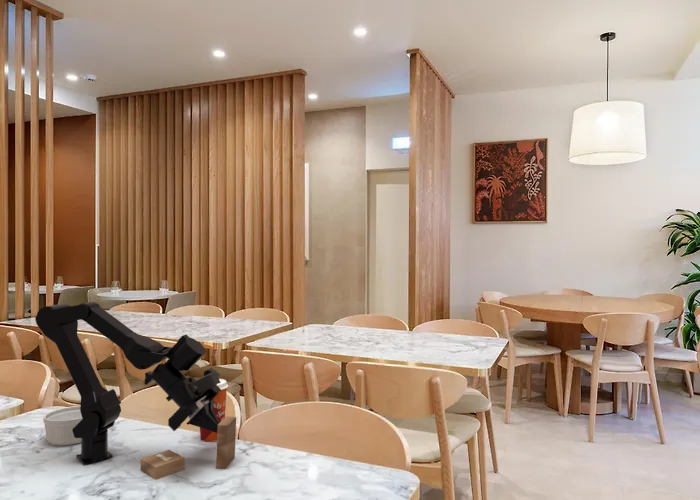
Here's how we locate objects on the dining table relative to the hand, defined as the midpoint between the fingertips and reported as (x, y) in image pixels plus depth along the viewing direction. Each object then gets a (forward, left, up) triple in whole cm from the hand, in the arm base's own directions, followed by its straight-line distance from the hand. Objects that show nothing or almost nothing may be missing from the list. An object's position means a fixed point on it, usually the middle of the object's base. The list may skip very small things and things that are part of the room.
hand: (220, 431), depth 117 cm
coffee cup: (-16, +7, -8) cm, 19 cm away
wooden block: (+1, +1, -7) cm, 7 cm away
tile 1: (-6, -11, -8) cm, 15 cm away
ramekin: (-42, -20, -8) cm, 47 cm away
